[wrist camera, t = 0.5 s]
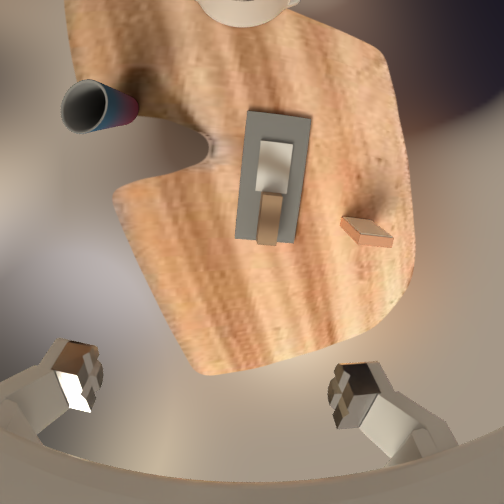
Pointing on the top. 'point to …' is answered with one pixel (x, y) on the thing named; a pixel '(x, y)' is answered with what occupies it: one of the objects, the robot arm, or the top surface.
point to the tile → (366, 232)
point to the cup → (96, 107)
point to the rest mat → (249, 199)
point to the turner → (271, 188)
